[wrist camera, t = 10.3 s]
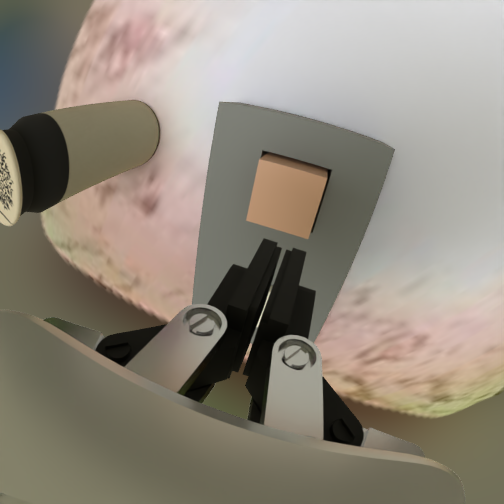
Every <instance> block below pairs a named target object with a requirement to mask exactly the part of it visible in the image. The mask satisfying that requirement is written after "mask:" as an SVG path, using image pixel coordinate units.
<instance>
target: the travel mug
mask: <svg viewBox="0 0 504 504" xmlns="http://www.w3.org/2000/svg"><path fill="white" fill-rule="evenodd" d="M158 139H159V128H158V123H157V119H156V117H155V115H154V113H153V112H152V110H151V109H150V108H149V107H148V106H147V105H146V104H144V103H142V102H140V101H136V100H128V101H116V102H106V103H97V104H89V105H82V106H75V107H69V108H63V109H58V110H53V111H48V112H43V113H38V114H34V115H30V116H25V117H22V118H21V119H19V120H18V121H17V122H16V123H15V124H14V125H13V126H12V127H11V128H10V129H8V130H0V222H1V223H2V224H4V225H6V226H12V225H14V224H15V223H16V222H17V221H18V219H19V217H20V216H21V215H22V214H23V213H24V212H36V213H39V212H43V211H44V210H46V209H48V208H50V207H52V206H54V205H55V204H57V203H59V202H61V201H63V200H65V199H67V198H69V197H71V196H73V195H75V194H77V193H79V192H81V191H83V190H85V189H87V188H89V187H91V186H94V185H96V184H98V183H100V182H102V181H105V180H107V179H109V178H111V177H114V176H116V175H118V174H121V173H123V172H125V171H128V170H130V169H133V168H135V167H137V166H140V165H142V164H144V163H145V162H147V161H148V160H149V159H150V158H151V157H152V155H153V154H154V152H155V150H156V147H157V144H158Z"/></svg>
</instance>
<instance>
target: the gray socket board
mask: <svg viewBox="0 0 504 504" xmlns="http://www.w3.org/2000/svg"><path fill="white" fill-rule="evenodd" d="M394 150H395V149H393V148H391V147H390V146H388V145H386V144H385V143H383V142H381V141H378V140H375V139H373V138H370V137H367V136H364V135H361V134H358V133H355V132H353V131H350V130H346V129H343V128H340V127H337V126H334V125H331V124H327V123H324V122H320V121H317V120H313V119H310V118H306V117H302V116H298V115H294V114H290V113H286V112H282V111H278V110H273V109H269V108H264V107H259V106H254V105H249V104H244V103H238V102H219V107H218V112H217V118H216V123H215V129H214V135H213V141H212V147H211V153H210V159H209V165H208V172H207V179H206V186H205V193H204V200H203V207H202V215H201V223H200V231H199V240H198V248H197V257H196V267H195V277H194V288H193V299H192V305H193V304H206V305H207V304H208V302H209V300H210V299H211V297H212V296H213V294H214V293H215V291H216V289H217V288H218V286H219V285H220V283H221V282H222V280H223V278H224V277H225V275H226V274H227V272H228V271H229V269H230V267H231V266H232V265H233V264H236V265H239V266H242V267H245V268H248V266H249V264H250V263H251V261H252V259H253V257H254V255H255V253H256V252H257V250H258V248H259V246H260V244H261V242H262V241H263V239H264V238H265V239H268V240H271V241H274V242H278V244H277V246H278V247H281V248H282V250H281V253H280V257H279V260H278V263H277V267H276V270H275V273H274V277H273V280H272V283H271V285H272V286H273V284H274V282H275V279H276V276H277V274H278V271H279V268H280V265H281V263H282V260H283V257H284V254H285V252H286V249H287V250H290V251H292V249H293V248H296V249H299V250H303V251H306V257H305V261H304V266H303V270H302V274H301V279H300V283H299V285H300V286H303V287H306V288H309V289H312V290H315V291H316V296H315V302H314V308H313V314H312V320H311V326H310V332H309V337H308V340H310V341H312V342H313V343H314V341H315V340H316V338H317V336H318V334H319V332H320V330H321V328H322V326H323V324H324V322H325V320H326V318H327V316H328V314H329V312H330V310H331V308H332V306H333V304H334V302H335V300H336V298H337V296H338V293H339V291H340V289H341V287H342V285H343V283H344V281H345V278H346V276H347V274H348V272H349V269H350V267H351V265H352V263H353V260H354V258H355V256H356V253H357V251H358V249H359V246H360V244H361V241H362V239H363V237H364V234H365V232H366V229H367V227H368V224H369V222H370V219H371V216H372V214H373V211H374V208H375V206H376V203H377V200H378V198H379V195H380V192H381V189H382V187H383V184H384V181H385V178H386V175H387V172H388V169H389V166H390V163H391V160H392V157H393V154H394ZM268 152H271V153H275V154H279V155H283V156H287V157H290V158H294V159H297V160H301V161H304V162H308V163H311V164H315V165H318V166H321V167H324V168H327V181H326V184H325V188H324V191H323V194H322V198H321V201H320V204H319V207H318V210H317V214H316V217H315V220H314V223H313V226H312V229H311V232H310V235H309V238H308V239H305V238H302V237H299V236H296V235H292V234H289V233H286V232H283V231H279V230H276V229H273V228H269V227H266V226H263V225H259V224H256V223H252V222H249V221H246V219H247V214H248V209H249V204H250V200H251V195H252V190H253V186H254V181H255V176H256V172H257V167H258V162H259V159H260V158H261V157H263V156H264V155H266V154H267V153H268ZM257 329H258V327H256V329H255V332H254V334H253V337H252V339H251V342H250V343H252V344H253V341H254V338H255V335H256V332H257Z"/></svg>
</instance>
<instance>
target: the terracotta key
mask: <svg viewBox="0 0 504 504" xmlns="http://www.w3.org/2000/svg"><path fill="white" fill-rule="evenodd" d="M326 181H327V168H324V167H321V166H318V165H315V164H311V163H308V162H304V161H301V160H297V159H294V158H290V157H287V156H283V155H279V154H275V153H271V152H268V153H267V154H266V155H264V156H263V157H261V158H260V159H259V162H258V167H257V172H256V176H255V181H254V186H253V190H252V195H251V200H250V204H249V209H248V214H247V219H246V221H249V222H252V223H256V224H259V225H263V226H266V227H269V228H273V229H276V230H279V231H283V232H286V233H289V234H292V235H296V236H299V237H302V238H305V239H308V238H309V235H310V232H311V229H312V226H313V223H314V220H315V217H316V214H317V210H318V207H319V204H320V201H321V198H322V194H323V191H324V188H325V184H326Z"/></svg>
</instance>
